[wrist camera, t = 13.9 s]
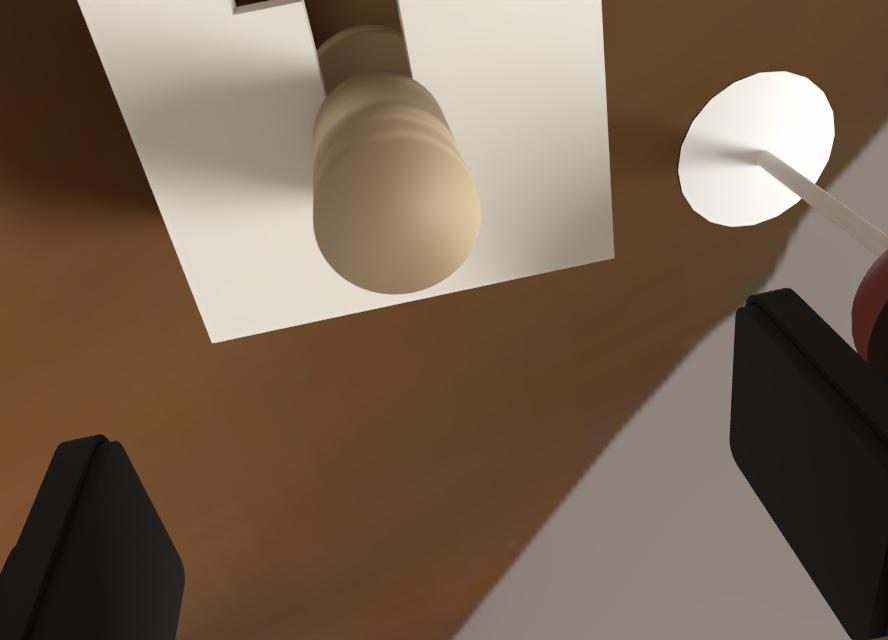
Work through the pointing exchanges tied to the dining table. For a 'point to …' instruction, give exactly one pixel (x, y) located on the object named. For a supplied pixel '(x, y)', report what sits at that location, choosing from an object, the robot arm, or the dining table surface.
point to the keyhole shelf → (292, 133)
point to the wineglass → (780, 178)
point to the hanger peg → (387, 170)
